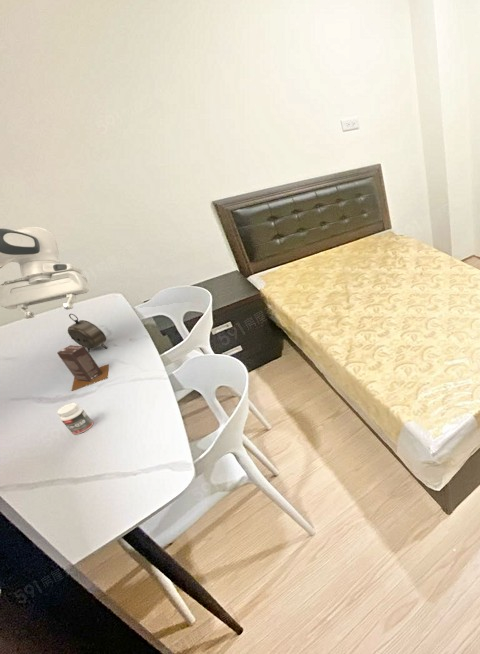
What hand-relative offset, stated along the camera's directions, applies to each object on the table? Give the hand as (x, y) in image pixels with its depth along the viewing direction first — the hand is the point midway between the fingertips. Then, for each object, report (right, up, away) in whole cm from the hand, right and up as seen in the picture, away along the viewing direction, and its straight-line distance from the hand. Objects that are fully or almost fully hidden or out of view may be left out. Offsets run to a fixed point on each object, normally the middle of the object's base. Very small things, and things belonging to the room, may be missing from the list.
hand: (49, 313), depth 126 cm
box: (+3, -23, +10) cm, 25 cm away
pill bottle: (+21, -33, -9) cm, 40 cm away
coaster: (+3, -23, +10) cm, 25 cm away
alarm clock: (-9, -16, +24) cm, 30 cm away
